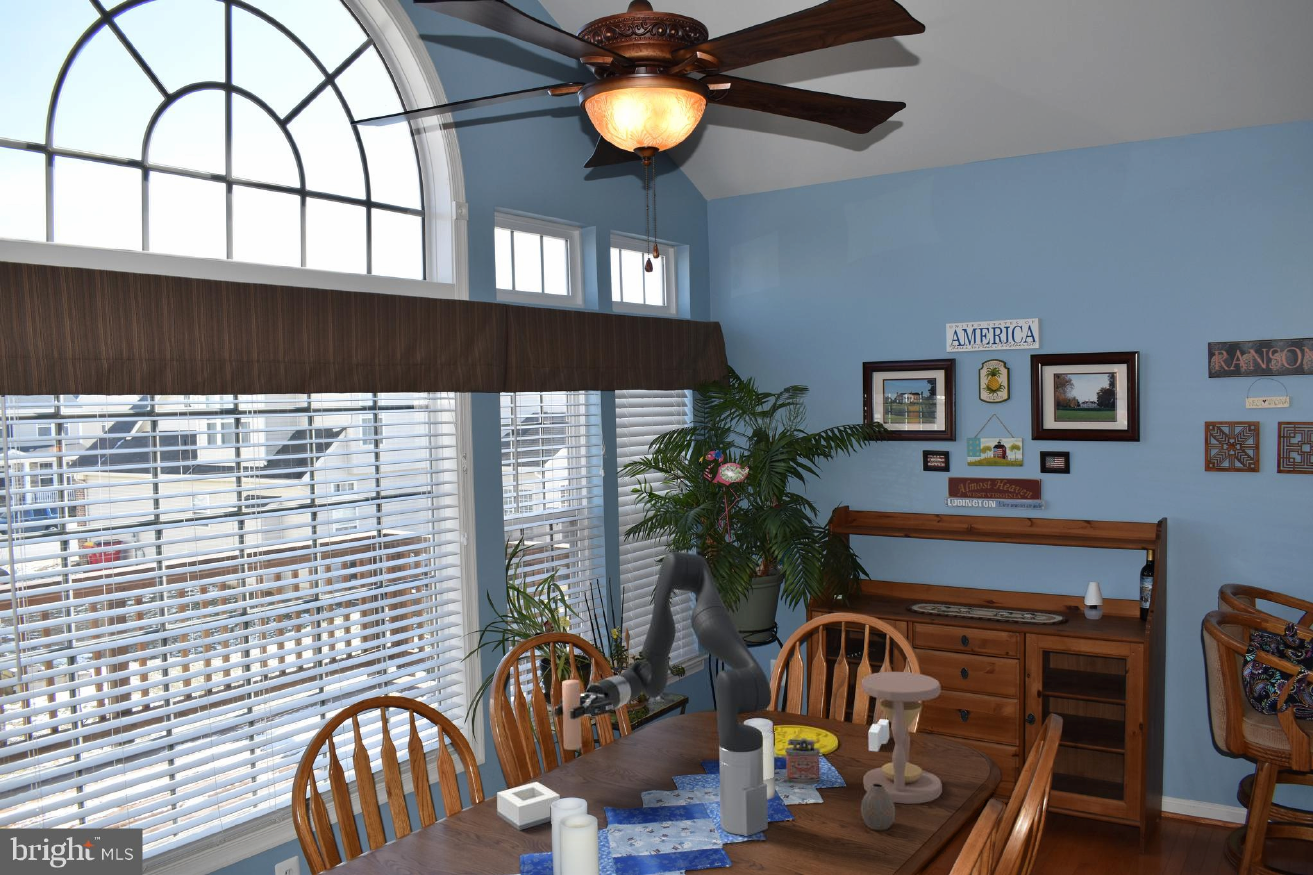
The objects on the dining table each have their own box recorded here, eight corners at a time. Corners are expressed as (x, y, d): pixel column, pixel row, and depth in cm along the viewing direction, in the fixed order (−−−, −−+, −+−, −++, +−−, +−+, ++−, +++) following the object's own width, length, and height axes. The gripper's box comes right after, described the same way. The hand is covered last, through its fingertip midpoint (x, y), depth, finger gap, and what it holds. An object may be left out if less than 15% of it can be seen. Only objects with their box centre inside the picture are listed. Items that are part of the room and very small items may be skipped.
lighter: (819, 778, 228) (819, 736, 228) (820, 783, 225) (820, 741, 225) (785, 777, 229) (784, 736, 229) (786, 783, 226) (785, 741, 225)
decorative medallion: (736, 752, 248) (736, 745, 248) (763, 725, 270) (763, 718, 269) (826, 764, 238) (826, 756, 238) (846, 735, 260) (846, 727, 260)
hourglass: (877, 770, 233) (875, 668, 232) (950, 783, 224) (948, 676, 223) (852, 795, 218) (851, 685, 217) (930, 809, 209) (928, 696, 208)
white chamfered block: (874, 757, 243) (874, 735, 243) (845, 744, 253) (844, 723, 253) (918, 746, 250) (917, 724, 250) (887, 734, 260) (887, 713, 260)
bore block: (560, 817, 208) (559, 795, 208) (519, 830, 202) (518, 806, 202) (537, 803, 216) (537, 781, 216) (497, 815, 210) (497, 792, 210)
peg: (584, 747, 220) (582, 682, 220) (569, 750, 218) (567, 685, 217) (575, 742, 223) (573, 678, 223) (560, 746, 221) (558, 681, 221)
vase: (870, 816, 206) (870, 776, 206) (900, 825, 201) (900, 783, 201) (855, 827, 200) (854, 786, 200) (886, 836, 196) (885, 793, 196)
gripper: (585, 675, 236) (539, 692, 222) (632, 682, 228) (588, 701, 214) (585, 705, 236) (540, 724, 222) (633, 714, 228) (588, 734, 214)
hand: (564, 713), depth 218 cm, fingers closed on peg, 4 cm apart
